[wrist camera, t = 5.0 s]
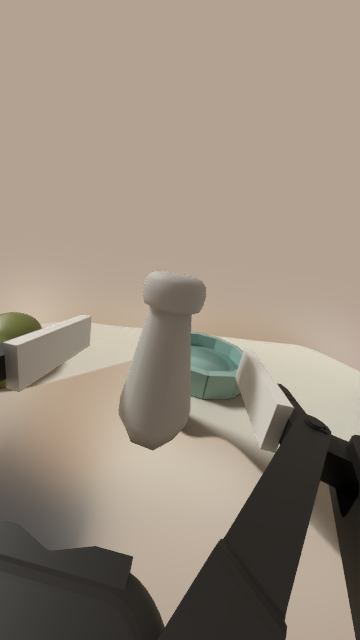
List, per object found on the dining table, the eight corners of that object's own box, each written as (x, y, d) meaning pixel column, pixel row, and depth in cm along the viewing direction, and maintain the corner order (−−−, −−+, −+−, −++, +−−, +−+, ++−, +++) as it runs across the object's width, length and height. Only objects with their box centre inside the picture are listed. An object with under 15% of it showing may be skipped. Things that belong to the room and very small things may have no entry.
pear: (48, 308, 24) (13, 357, 15) (49, 342, 26) (20, 401, 17) (-9, 303, 21) (-86, 356, 13) (-2, 340, 24) (-65, 408, 15)
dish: (261, 377, 28) (267, 360, 27) (205, 417, 18) (212, 391, 17) (194, 341, 37) (197, 327, 36) (132, 354, 27) (134, 336, 26)
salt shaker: (184, 408, 19) (213, 279, 15) (185, 466, 13) (232, 285, 10) (127, 398, 18) (144, 266, 15) (103, 454, 13) (122, 264, 10)
